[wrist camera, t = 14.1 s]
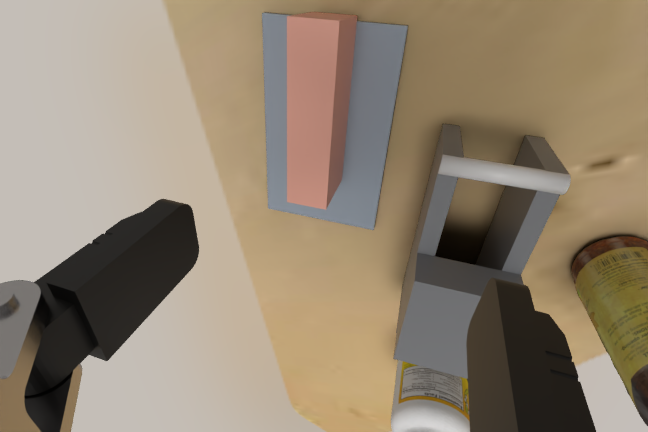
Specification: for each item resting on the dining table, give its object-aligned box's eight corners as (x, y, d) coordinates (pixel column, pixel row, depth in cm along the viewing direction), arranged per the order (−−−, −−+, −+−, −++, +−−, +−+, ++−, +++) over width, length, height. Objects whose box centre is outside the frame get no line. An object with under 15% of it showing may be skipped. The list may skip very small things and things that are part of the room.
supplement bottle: (446, 371, 39) (447, 509, 29) (390, 346, 40) (372, 473, 29) (479, 337, 35) (495, 482, 25) (417, 310, 36) (407, 442, 25)
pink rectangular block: (313, 11, 24) (286, 16, 20) (357, 15, 23) (339, 20, 19) (307, 173, 30) (287, 202, 26) (342, 179, 30) (326, 209, 26)
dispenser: (442, 123, 26) (443, 176, 18) (544, 137, 24) (587, 200, 17) (402, 284, 35) (392, 363, 27) (475, 301, 33) (485, 389, 26)
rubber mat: (265, 12, 25) (262, 12, 25) (408, 25, 23) (407, 26, 23) (270, 205, 34) (268, 208, 33) (374, 226, 32) (373, 230, 31)
